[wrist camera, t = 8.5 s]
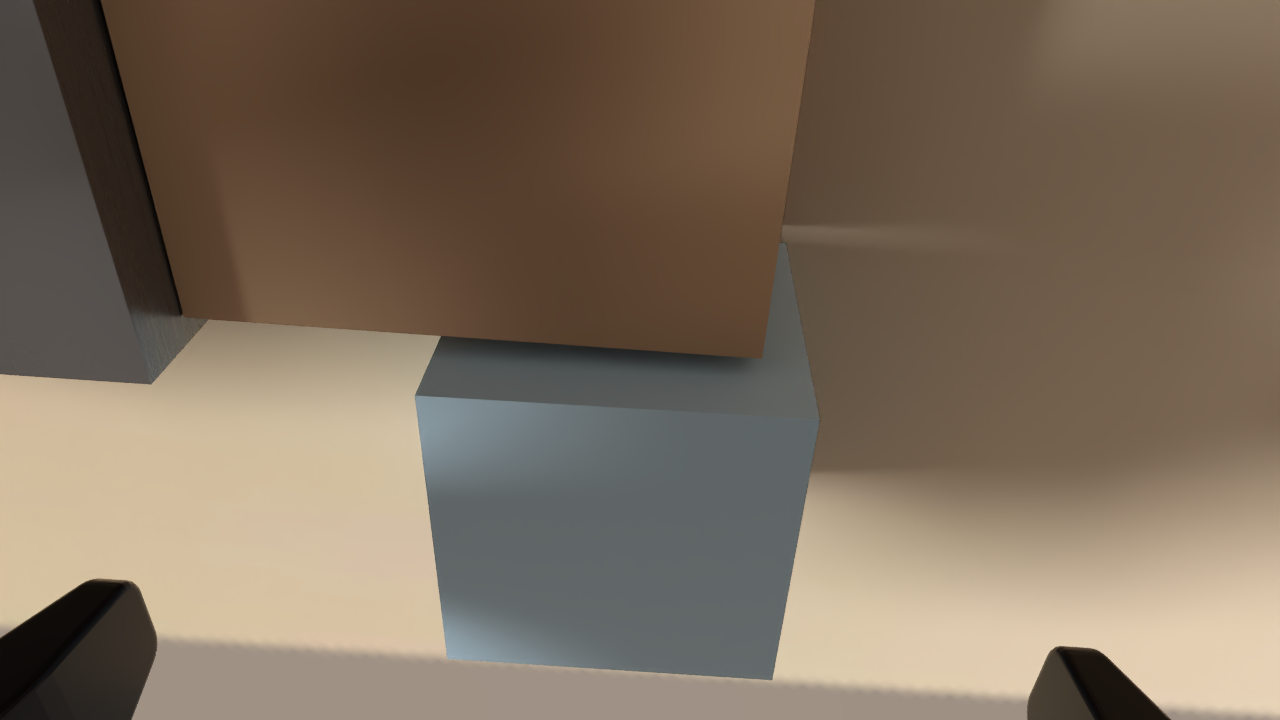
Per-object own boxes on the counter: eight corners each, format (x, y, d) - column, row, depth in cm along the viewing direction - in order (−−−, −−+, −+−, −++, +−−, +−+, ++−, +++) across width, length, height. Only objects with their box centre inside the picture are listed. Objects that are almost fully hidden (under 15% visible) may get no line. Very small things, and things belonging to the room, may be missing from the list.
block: (504, 452, 14) (447, 659, 11) (490, 224, 12) (414, 395, 9) (754, 467, 14) (772, 679, 11) (785, 240, 12) (819, 420, 9)
